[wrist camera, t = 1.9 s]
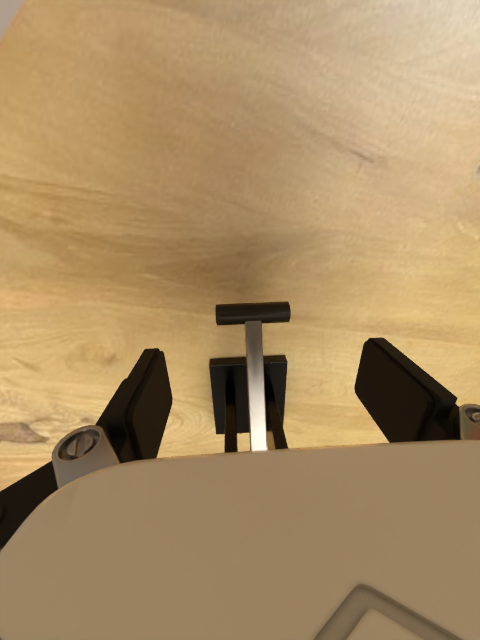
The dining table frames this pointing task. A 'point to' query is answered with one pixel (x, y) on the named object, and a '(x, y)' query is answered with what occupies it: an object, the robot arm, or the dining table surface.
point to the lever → (254, 356)
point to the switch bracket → (234, 399)
